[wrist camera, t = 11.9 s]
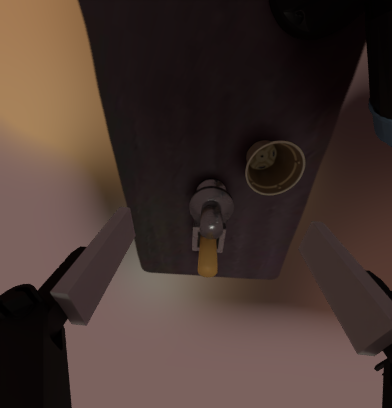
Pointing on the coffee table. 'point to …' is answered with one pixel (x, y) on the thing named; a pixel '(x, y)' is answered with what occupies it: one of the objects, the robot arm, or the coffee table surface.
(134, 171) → the coffee table surface
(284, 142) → the flower pot
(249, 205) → the coffee table surface
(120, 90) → the coffee table surface
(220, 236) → the rosette bracket
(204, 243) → the tapered pin
